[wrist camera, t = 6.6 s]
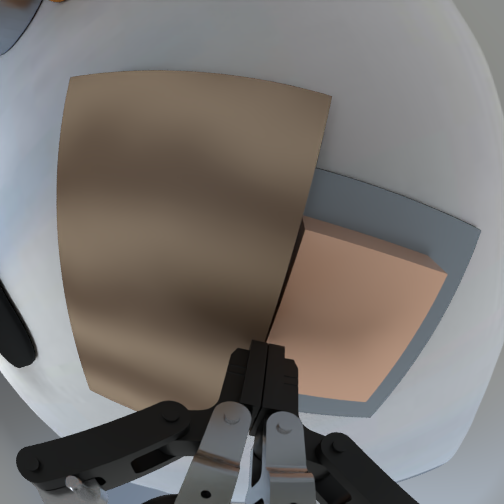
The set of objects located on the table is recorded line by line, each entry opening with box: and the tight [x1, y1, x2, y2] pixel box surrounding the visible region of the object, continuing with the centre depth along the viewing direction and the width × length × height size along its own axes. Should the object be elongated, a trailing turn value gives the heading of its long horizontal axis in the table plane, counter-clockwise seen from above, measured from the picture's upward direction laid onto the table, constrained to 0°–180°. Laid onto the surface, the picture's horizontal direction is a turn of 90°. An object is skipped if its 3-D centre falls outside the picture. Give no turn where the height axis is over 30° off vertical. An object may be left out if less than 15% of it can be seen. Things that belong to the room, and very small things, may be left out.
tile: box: [265, 215, 448, 402], centre depth 14 cm, size 10×8×2 cm
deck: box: [57, 70, 332, 411], centre depth 15 cm, size 22×12×4 cm, turn 168°
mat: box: [298, 168, 481, 418], centre depth 16 cm, size 18×12×1 cm, turn 168°
